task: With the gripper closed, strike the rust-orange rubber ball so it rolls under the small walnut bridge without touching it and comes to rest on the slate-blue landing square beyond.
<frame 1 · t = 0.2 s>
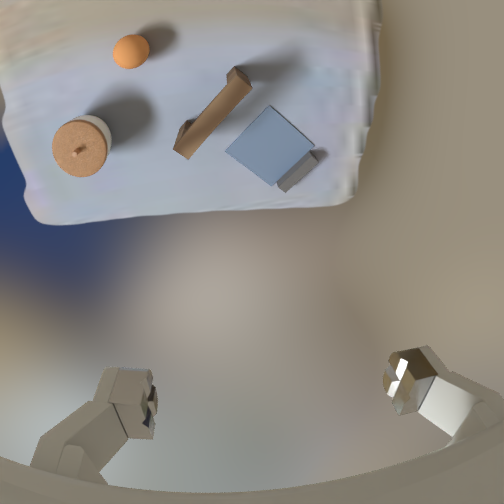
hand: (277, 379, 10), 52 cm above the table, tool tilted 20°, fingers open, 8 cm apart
bridge: (212, 102, 52), on the table
ball: (131, 51, 41), on the table
stopper: (295, 168, 62), on the table
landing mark: (270, 147, 58), on the table
lidded jar: (93, 133, 52), on the table
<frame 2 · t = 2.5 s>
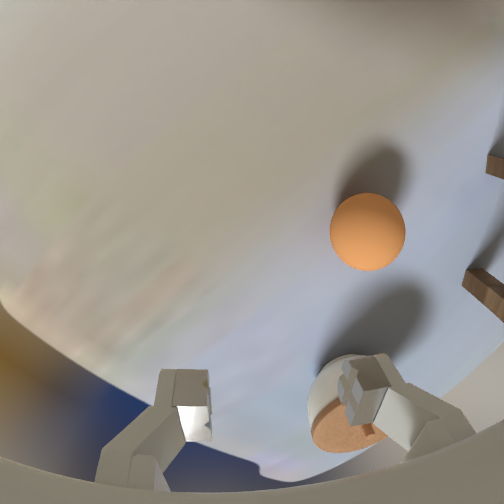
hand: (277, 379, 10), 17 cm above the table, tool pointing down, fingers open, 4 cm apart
bridge: (485, 223, 28), on the table
ball: (367, 231, 24), on the table
lidded jar: (342, 372, 34), on the table
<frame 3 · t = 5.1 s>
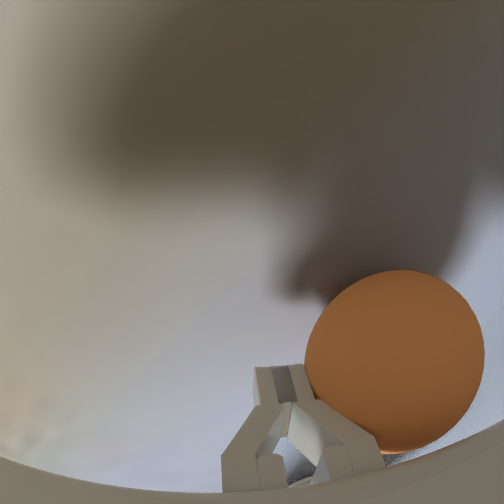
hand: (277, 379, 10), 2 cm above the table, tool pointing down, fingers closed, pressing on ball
ball: (395, 363, 9), on the table, touching gripper
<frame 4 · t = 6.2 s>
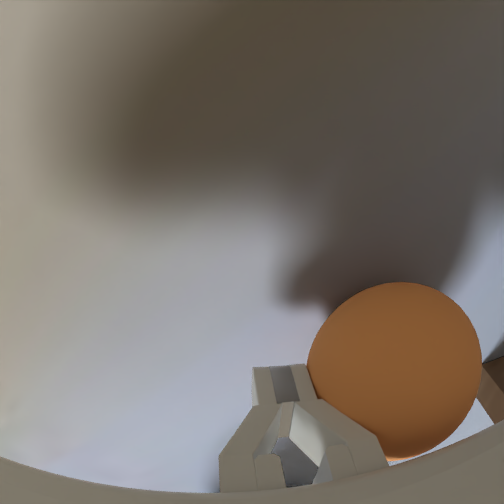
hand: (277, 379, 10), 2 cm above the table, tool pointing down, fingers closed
ball: (395, 372, 9), on the table, touching gripper
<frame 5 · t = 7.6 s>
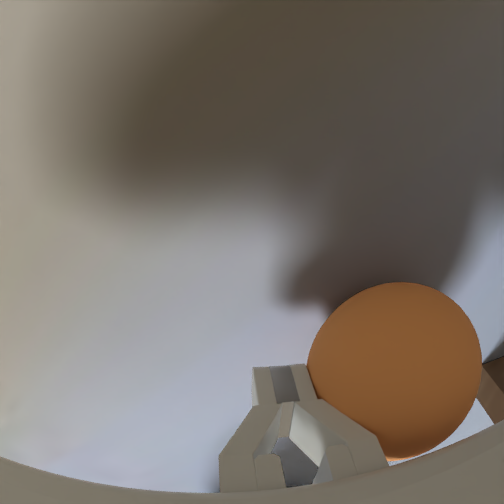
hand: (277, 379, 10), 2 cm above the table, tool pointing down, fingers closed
ball: (395, 372, 9), on the table, touching gripper
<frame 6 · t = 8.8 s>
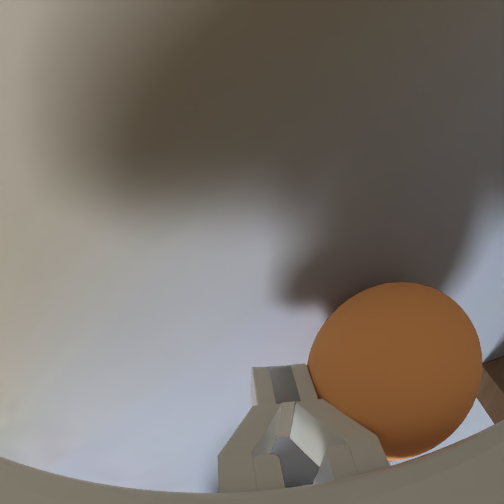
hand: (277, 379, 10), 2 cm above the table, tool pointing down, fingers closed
ball: (395, 372, 9), on the table, touching gripper
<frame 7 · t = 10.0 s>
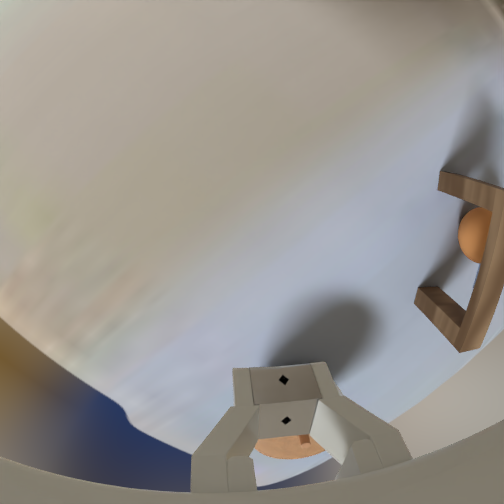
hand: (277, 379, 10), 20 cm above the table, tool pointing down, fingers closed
bridge: (439, 241, 30), on the table
ball: (483, 235, 27), on the table
lidded jar: (290, 382, 36), on the table
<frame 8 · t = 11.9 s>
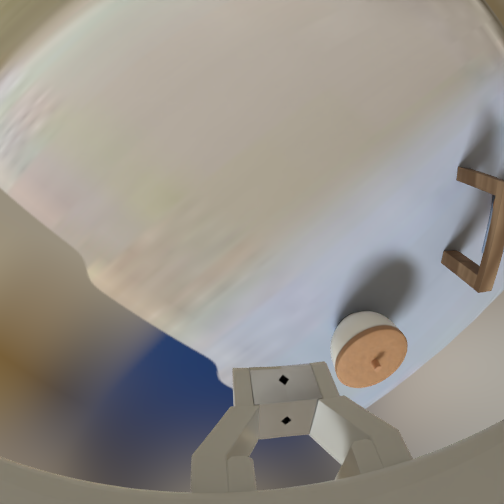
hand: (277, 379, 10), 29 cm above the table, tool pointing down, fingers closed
bridge: (457, 216, 41), on the table
lidded jar: (354, 327, 47), on the table
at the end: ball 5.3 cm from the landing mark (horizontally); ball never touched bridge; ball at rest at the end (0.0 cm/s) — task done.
